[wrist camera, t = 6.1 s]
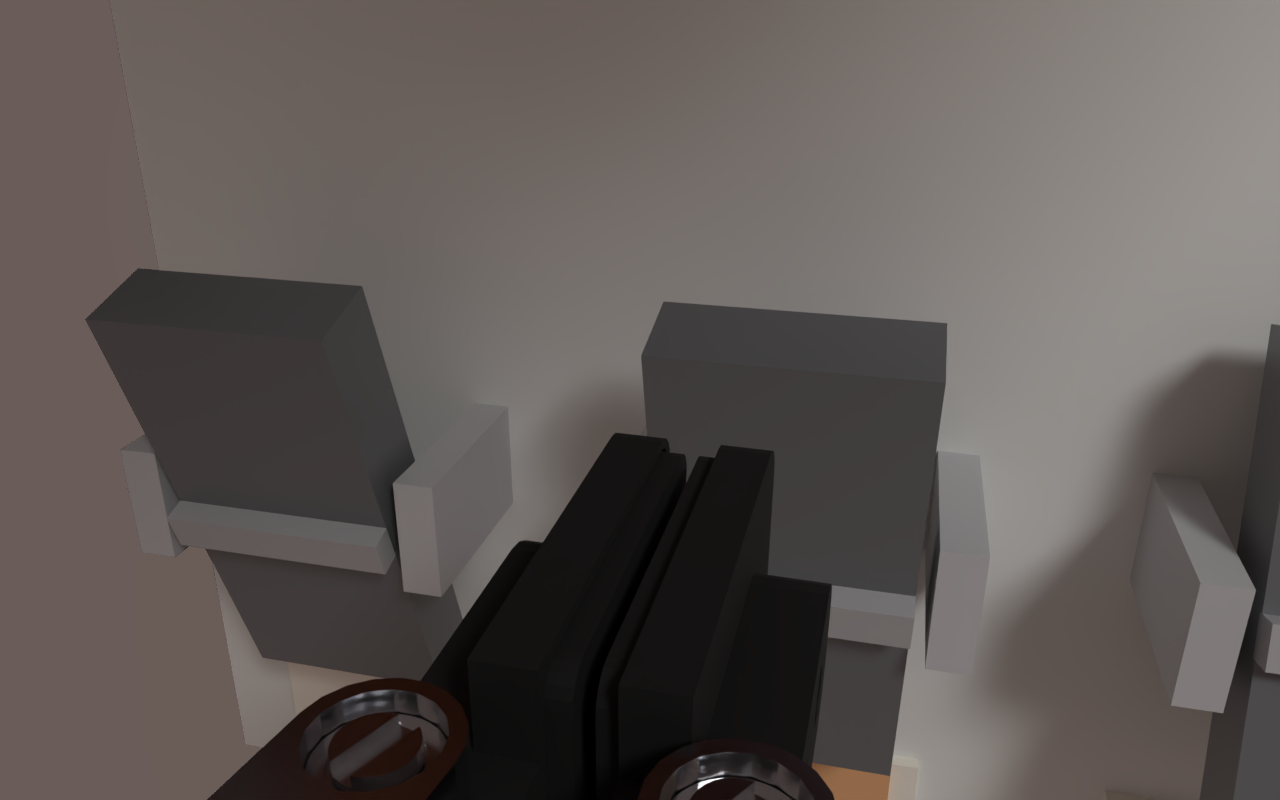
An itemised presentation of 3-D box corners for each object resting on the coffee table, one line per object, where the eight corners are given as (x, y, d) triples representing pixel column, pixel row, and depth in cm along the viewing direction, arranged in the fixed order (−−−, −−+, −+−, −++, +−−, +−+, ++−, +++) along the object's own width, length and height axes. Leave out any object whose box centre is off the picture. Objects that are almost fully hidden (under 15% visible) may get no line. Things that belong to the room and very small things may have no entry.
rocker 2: (663, 301, 18) (632, 375, 16) (947, 323, 17) (944, 403, 15) (685, 678, 24) (665, 758, 22) (894, 711, 23) (888, 798, 21)
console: (221, -27, 25) (-57, -21, 18) (1718, -20, 19) (2214, -6, 11) (319, 659, 33) (151, 853, 26) (1399, 840, 26) (1575, 1169, 19)
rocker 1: (137, 268, 20) (67, 336, 18) (362, 285, 19) (307, 359, 17) (294, 604, 26) (251, 675, 25) (466, 631, 25) (433, 706, 24)
